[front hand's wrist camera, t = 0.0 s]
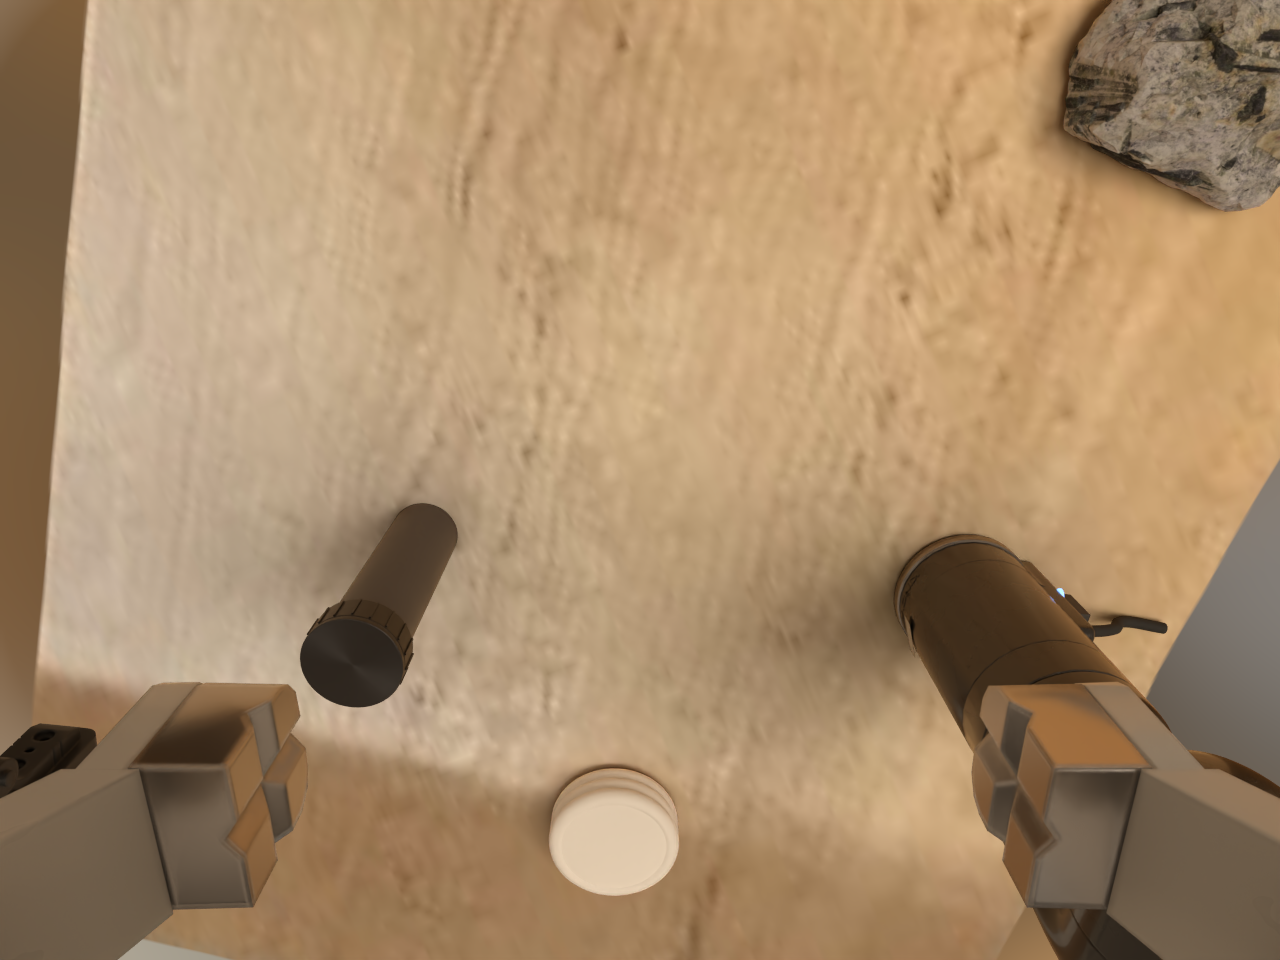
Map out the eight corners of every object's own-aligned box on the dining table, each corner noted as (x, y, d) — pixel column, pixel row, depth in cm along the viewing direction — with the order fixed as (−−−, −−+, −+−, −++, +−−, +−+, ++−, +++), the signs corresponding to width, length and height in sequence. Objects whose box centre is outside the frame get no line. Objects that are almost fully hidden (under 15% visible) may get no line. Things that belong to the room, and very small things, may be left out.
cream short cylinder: (700, 833, 71) (702, 867, 68) (594, 882, 73) (592, 917, 69) (636, 745, 68) (636, 775, 65) (528, 798, 70) (522, 830, 66)
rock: (1031, 128, 52) (1091, 127, 46) (1124, -56, 49) (1203, -86, 42) (1237, 221, 55) (1323, 233, 48) (1339, 51, 51) (1446, 38, 45)
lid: (318, 588, 47) (304, 608, 45) (421, 609, 48) (411, 630, 45) (307, 673, 49) (293, 696, 47) (407, 693, 49) (396, 717, 47)
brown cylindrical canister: (397, 497, 61) (315, 613, 46) (462, 511, 61) (403, 631, 46) (388, 554, 63) (306, 686, 47) (451, 568, 63) (390, 703, 48)
